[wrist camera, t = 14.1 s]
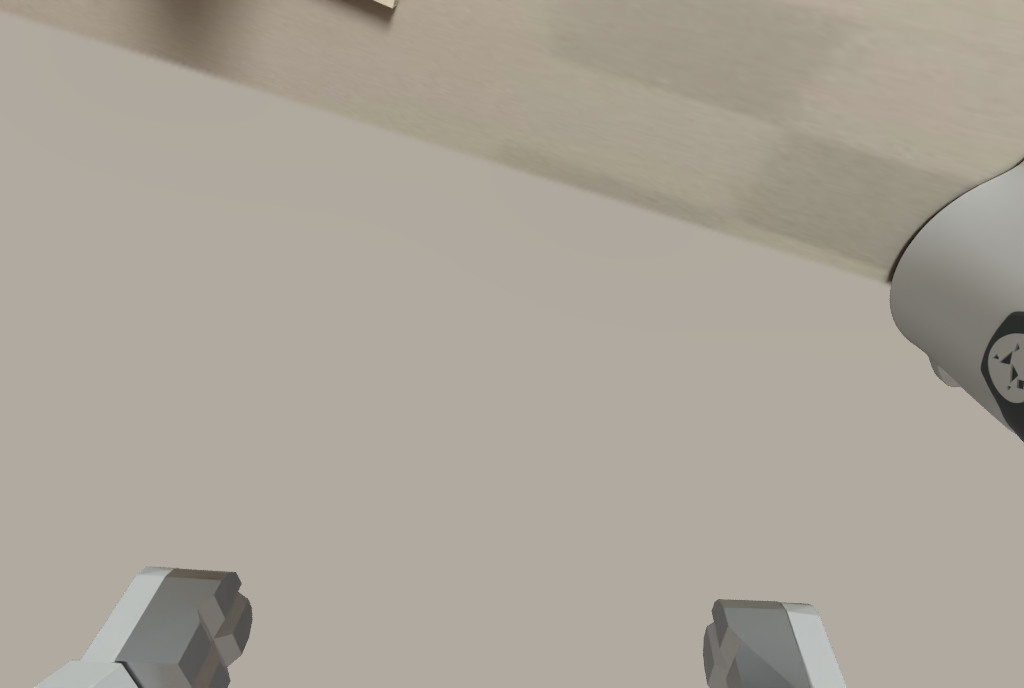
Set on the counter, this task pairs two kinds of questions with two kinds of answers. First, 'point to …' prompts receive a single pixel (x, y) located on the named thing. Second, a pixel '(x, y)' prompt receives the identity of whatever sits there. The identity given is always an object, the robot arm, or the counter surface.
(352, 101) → the counter surface
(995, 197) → the robot arm
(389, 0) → the birch board
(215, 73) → the counter surface
